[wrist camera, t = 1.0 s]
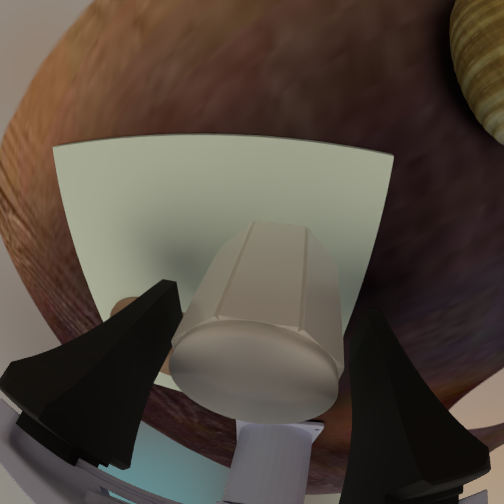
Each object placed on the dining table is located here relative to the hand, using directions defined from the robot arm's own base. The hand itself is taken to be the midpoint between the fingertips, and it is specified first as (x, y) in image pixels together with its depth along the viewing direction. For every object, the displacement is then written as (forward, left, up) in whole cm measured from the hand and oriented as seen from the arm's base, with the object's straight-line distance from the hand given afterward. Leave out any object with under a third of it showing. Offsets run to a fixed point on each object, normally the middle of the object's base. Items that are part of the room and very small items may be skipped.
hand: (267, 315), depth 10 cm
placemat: (-4, +4, -3) cm, 7 cm away
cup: (0, 0, -3) cm, 3 cm away
